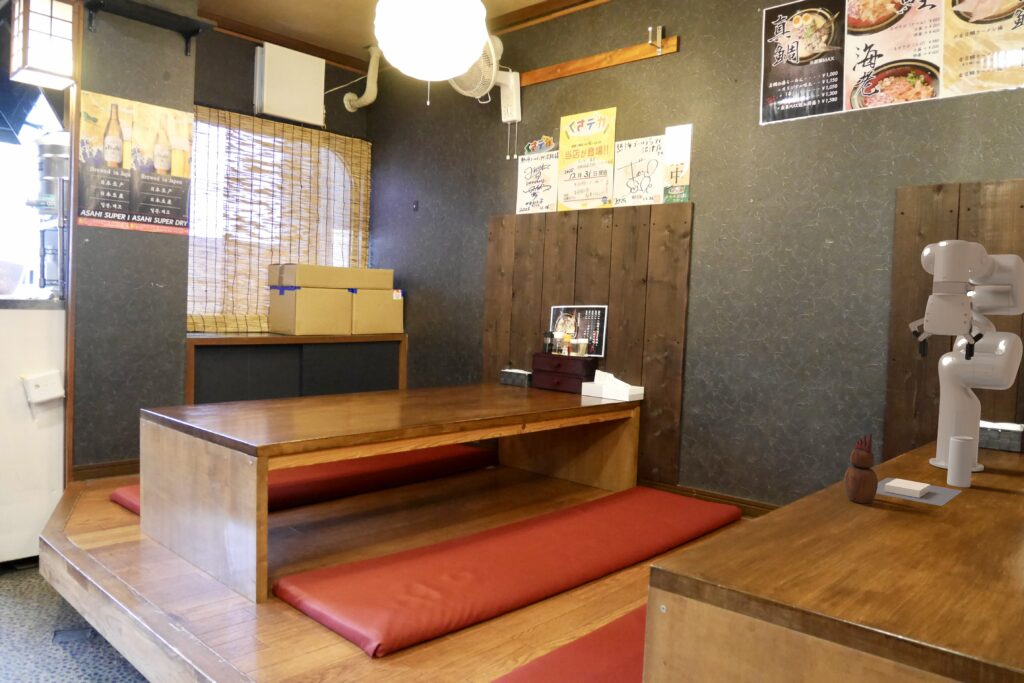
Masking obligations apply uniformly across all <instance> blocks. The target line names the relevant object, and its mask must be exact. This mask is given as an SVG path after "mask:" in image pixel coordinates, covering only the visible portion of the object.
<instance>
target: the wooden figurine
mask: <svg viewBox="0 0 1024 683" xmlns="http://www.w3.org/2000/svg"><path fill="white" fill-rule="evenodd" d="M872 438H873V435H872V433H870V434H869V436H868V439H867V435H866V434H863V438H860V439H859V441H856V442H855V446H854V449H853V450H852V451H851V453H850V456H849V459H850V460H849V462H850V463H851V466H849V467H848V468H847V470H845V473H844V478H843V484H844V490H845V493H846V496H847V498H848V499H849V500H850V501H851V502H854V503H857V504H870V503H871V502H873V501H874V499H875V497H876V495H877V494H876V492H877V487H878V482H879V481H878V476H877V473H876V472H875V471H874V469H873V468H872V467H874V464H875V454H874V453H873V451H872V445H873V444H872V442H873V441H872V440H873V439H872Z"/></svg>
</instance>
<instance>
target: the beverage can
mask: <svg viewBox="0 0 1024 683" xmlns="http://www.w3.org/2000/svg"><path fill="white" fill-rule="evenodd" d="M973 443H974V441H973V438H971V437H966V436H951V438H950V445H949V460H948V469H947V476H946V477H947V478H946V484H947V485H948V486H952V487H957V488H965V489H967V488H971V483H972V457H973Z"/></svg>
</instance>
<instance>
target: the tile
mask: <svg viewBox="0 0 1024 683" xmlns="http://www.w3.org/2000/svg"><path fill="white" fill-rule="evenodd" d="M894 479H895V480H893V481H891V482H889V483H887V484H885V492H889V493H894V494H900V495H905V496H910V497H915V498H920V497H921V496H923V495H925V494H926V493H928V492H929V491H930V485H931V483H925V482H918V481H914V480H913V481H912V480H909V479H908V480H907V479H902V478H894Z"/></svg>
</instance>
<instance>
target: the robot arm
mask: <svg viewBox="0 0 1024 683" xmlns="http://www.w3.org/2000/svg"><path fill="white" fill-rule="evenodd" d="M987 251H988V250H986V248H985V247H984V246H983V245H982V244H981V243H978V242H975V241H973V242H970V241H967V240H962V239H947V240H946V239H945V240H941V241H939V242H935V243H930V244H927V245H926V246H925V247H924V248H923V250H922V252H921V255H920V261H921V266H922V268H923V270H924V271H925V272H926V273H928V274H930V275H933V281H932V282H933V283H932V294H930V295H929V296H928V300H927V302H926V307H925V314H924V317H922V318H920V319H916V320H915V321H913V322H910V323H909V324H908V327H909V329H910V331H911V333H912V335H913V336H914V337H915V338H916V339H917V340H918V342H919V346H918V347H919V348H918V352H919V353H918V354H919V355H920V357H921V358H926V357H928V350H929V349H928V348H929V341H927V340H928V338H930V337H931V336H932V335H937V336H938V335H939V336H956V339H955V341H954V344H953V348H952V351H949V352H946V353H944V354H943V355H941V357H940V358H939V360H938V366H937V368H938V378H939V395H940V396H939V408H938V409H939V410H938V411H939V412H938V423H937V424H938V426H937V427H938V428H937V439H936V440H937V442H936V453H935V457H931V458H929V460H928V461H929V464H930V465H932V466H934V467H938V468H942V469H947V470H948V460H949V445H950V438H951V436H966V437H971V438H973V441H974V443H973V457H972V471H971V473H972V472H983V471H984V468H985V466H984V465H983V464H981V463H978V455H979V443H980V441H979V438H980V426H981V413H982V412H981V410H982V406H981V404H982V403H981V402H980V399H979V398H978V397H977V395H976V394H975V393H974V391H973V390H972V389H984V390H985V389H986V390H987V389H988V390H999V391H1003V390H1004V391H1005V390H1007V389H1009V388H1011V387H1012V386H1013V385H1014V383H1015V379H1016V377H1017V373H1018V370H1019V367H1020V364H1021V362H1022V356H1023V348H1024V347H1023V342H1022V339H1021V337H1020V336H1019V335H1018V334H1016V333H1014V332H1008V331H997V328H996V327H995V325H994V323H993V322H992V321H991V320H990V319H989V318H988V317H986V316H987V315H988V316H989V315H991V316H992V315H993V316H995V315H996V316H997V315H998V316H1017V315H1022V314H1024V260H1023V259H1022V257H1021V256H1020V255H1018V254H1014V253H1013V254H1012V253H1010V254H1006V253H1005V254H988V252H987ZM985 315H986V316H985ZM921 325H923V333H921V332H920V331H919V329H918V326H921Z"/></svg>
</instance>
